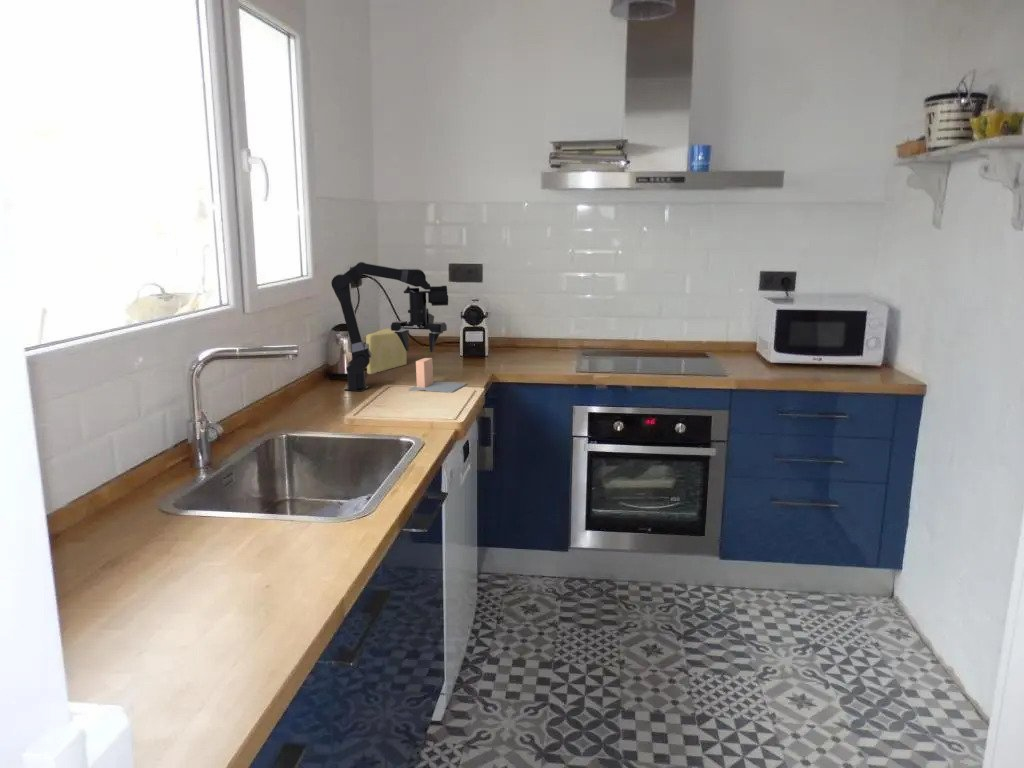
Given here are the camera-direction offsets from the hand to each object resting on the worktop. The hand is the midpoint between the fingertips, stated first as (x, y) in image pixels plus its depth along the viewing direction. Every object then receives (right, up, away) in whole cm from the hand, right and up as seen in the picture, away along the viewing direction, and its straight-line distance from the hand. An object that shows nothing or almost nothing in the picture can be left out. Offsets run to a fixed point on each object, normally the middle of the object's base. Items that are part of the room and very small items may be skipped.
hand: (419, 351), depth 259 cm
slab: (+2, -12, +2) cm, 12 cm away
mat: (+6, -12, 0) cm, 14 cm away
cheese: (-18, -6, +36) cm, 41 cm away
